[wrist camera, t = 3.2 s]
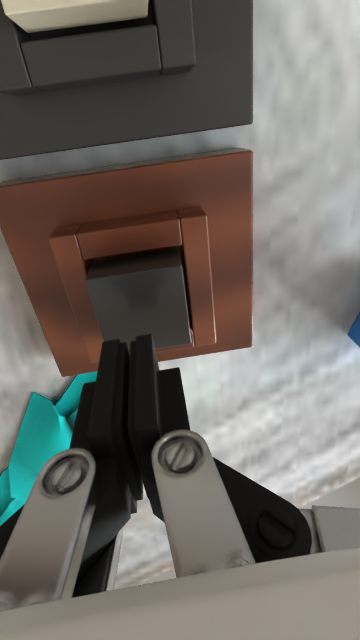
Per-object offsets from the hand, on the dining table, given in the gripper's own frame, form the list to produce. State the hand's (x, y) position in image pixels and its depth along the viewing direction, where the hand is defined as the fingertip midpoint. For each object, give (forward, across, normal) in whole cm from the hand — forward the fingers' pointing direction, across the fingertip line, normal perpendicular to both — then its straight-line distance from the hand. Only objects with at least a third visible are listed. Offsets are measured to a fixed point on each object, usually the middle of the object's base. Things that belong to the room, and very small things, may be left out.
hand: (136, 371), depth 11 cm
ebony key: (+6, 0, 0) cm, 6 cm away
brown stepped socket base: (+9, 0, 0) cm, 9 cm away
